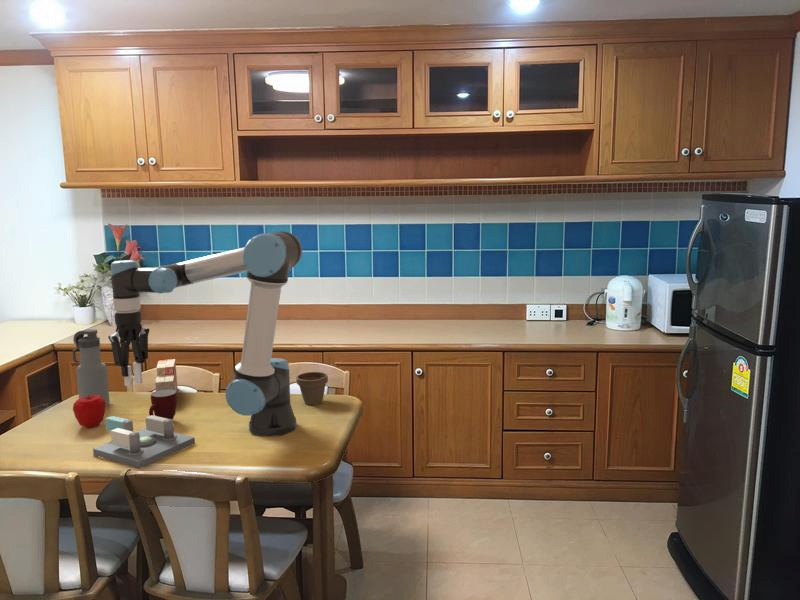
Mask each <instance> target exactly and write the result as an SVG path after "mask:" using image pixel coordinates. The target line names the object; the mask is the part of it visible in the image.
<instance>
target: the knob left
mask: <svg viewBox="0 0 800 600" xmlns="http://www.w3.org/2000/svg"><path fill="white" fill-rule="evenodd" d="M110 435H111V436H110V437H111V441H112V444H115V445H119V446H123V447H126V448H130V453H138V452H140V451H141V447H140V435H139V433H138V432H137V431H133V432H132V431H128V430H124V429H120V428H116V429H114V430H111V432H110Z"/></svg>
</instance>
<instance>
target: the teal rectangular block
mask: <svg viewBox="0 0 800 600" xmlns="http://www.w3.org/2000/svg"><path fill="white" fill-rule="evenodd" d="M105 424H106V426H105V427H106V431H107V432H109V433H111V430H114V429H116V428H120V429H124V430H128V431H132V432H134V422H133V419H127V418H123V417H118V416H114V415H112V416H109V417H106V418H105Z"/></svg>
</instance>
